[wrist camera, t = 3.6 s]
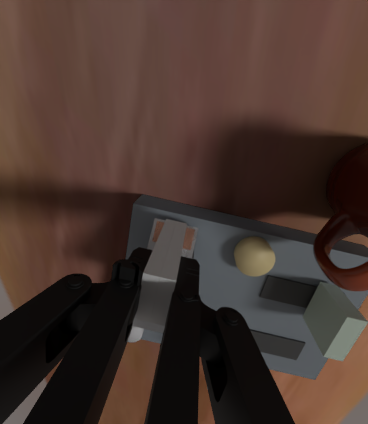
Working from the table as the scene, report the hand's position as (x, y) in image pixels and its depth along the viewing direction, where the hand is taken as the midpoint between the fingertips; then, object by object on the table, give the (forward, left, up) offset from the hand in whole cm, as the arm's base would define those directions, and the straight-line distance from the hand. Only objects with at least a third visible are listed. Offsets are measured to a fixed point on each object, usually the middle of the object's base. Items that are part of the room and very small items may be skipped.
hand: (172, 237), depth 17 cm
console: (+7, +7, -6) cm, 12 cm away
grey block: (+4, +14, -3) cm, 15 cm away
